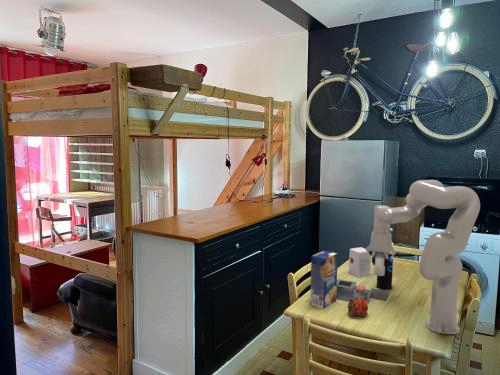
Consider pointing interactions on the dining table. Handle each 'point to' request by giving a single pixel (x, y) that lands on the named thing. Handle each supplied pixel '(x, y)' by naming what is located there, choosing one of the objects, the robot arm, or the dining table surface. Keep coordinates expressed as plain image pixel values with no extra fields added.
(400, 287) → the dining table surface
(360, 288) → the plunger
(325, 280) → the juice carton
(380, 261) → the cylinder
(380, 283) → the aerosol can
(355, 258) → the supplement box
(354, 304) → the dragon fruit
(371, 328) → the dining table surface
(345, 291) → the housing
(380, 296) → the mat
